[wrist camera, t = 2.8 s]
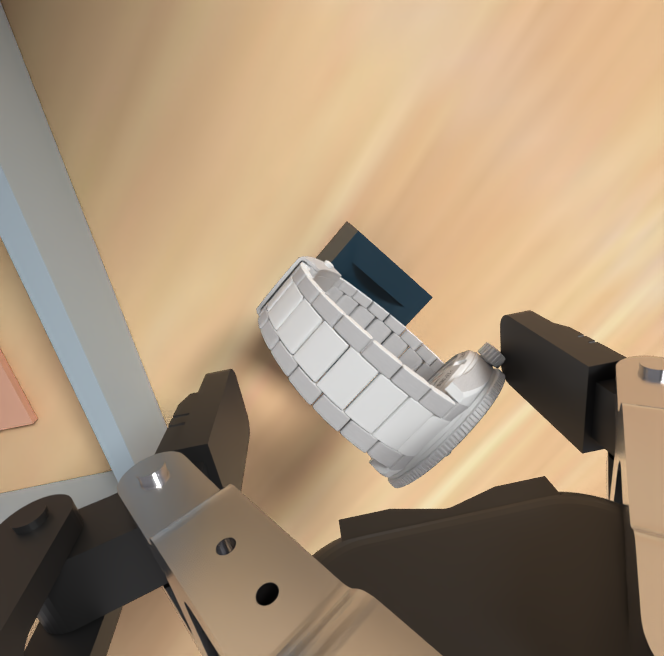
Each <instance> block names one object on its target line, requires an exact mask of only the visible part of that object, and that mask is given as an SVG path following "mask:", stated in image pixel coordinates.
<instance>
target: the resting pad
mask: <svg viewBox="0 0 664 656" xmlns="http://www.w3.org/2000/svg"><path fill="white" fill-rule="evenodd" d="M36 420H37V417H36V415H35V413H34V411H33V409H32V407H31V405H30V404H29V402H28V400H27V398H26V396H25V394H24V392H23V390H22V389H21V387H20V385H19V383H18V381H17V379H16V377H15V375H14V374H13V372H12V370H11V368H10V366H9V364H8V362H7V361H6V359H5V357H4V355H3V353H2V351H1V349H0V430H4V429H9V428H14V427H19V426H24V425H29V424H33V423H34V422H35V421H36Z"/></svg>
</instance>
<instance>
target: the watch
mask: <svg viewBox="0 0 664 656" xmlns="http://www.w3.org/2000/svg"><path fill="white" fill-rule="evenodd" d="M431 299H432V296H431V295H429V294H428V293H427V292H426V291H425V290H424V289H423V288H422V287H420V286H419V285H418V284H417V283H416V282H415V281H414V280H413V279H412V278H410V277H409V276H408V275H407V274H406V273H405V272H404V271H403V270H402V269H400V268H399V267H398V266H397V265H396V264H395V263H394V262H393V261H391V260H390V259H389V258H388V257H387V256H386V255H385V254H384V253H383V252H381V251H380V250H379V249H378V248H377V247H376V246H375V245H374V244H373V243H371V242H370V241H369V240H368V239H367V238H366V237H365V236H364V235H362V234H361V233H360V232H359V231H358V230H357V229H356V228H354V227H353V226H352V225H351V224H350V223H348V222H346V223H345V224H344V225H343V227H342V228H341V229H340V230H339V231H338V232H337V234H336V235H335V236H334V237H333V238H332V240H331V241H330V242H329V243H328V244H327V246H326V247H325V248H324V249H323V250H322V252H321V253H320V254H319V255H318V256H317V258H313V257H299V258H298V259H297V260H296V261H295V263H294V264H293V265H292V266H291V267H290V268H289V270H288V271H287V272H286V273H285V274H284V275H283V277H282V278H281V279H280V280H279V281H278V283H277V284H276V285H275V286H274V287H273V289H272V290H271V291H270V292H269V294H268V295H267V296H266V297H265V299H264V300H263V301H262V302H261V304H260V305H259V306H258V308H257V309H256V310H257V314H259V318H258V324H259V328H260V329H261V333H262V336H263V338H264V341H265V343H266V345H267V347H268V348H269V349H270V350H271V354H272V355H273V357H274V359H275V360H276V362H277V363H278V365H279V366H280V368H281V369H282V371H283V372H284V373H285V375H286V376H289V378H288V379H289V381H290V382H291V384H292V385H293V386H294V387H295V389H296V390H297V391H298V392H299V393H300V395H301V396H302V397H303V398H304V399H305V400H306V402H307V403H308V404H310V405H312V404H313V403H314V402H315V401H316V399H317V398H318V397H319V396H320V395H321V394H322V393H324V394H323V395H322V396H321V397H320V398H319V399H318V400H317V401H316V402H315V403H314V404H313V408H314V409H315V410H316V411H317V412H318V414H319V415H320V416H321V417H322V418H323V419H324V420H325V421H326V422H327V423H328V424H329V425H331V426H332V427H333V428H334V429H335V430H336V431H339V430H340V433H341V434H342V435H343V436H344V437H345V438H346V439H347V440H348V441H350V442H351V443H352V444H353V445H355V446H356V447H357V448H359V449H360V450H361V451H363V452H364V453H366V452H367V453H368V455H369V456H370V457H371V460H370V461H369V463H370V464H371V465H372V466H373V467H374V468H375V469H376V470H377V471H378V472H379V473H380V474H382V475H383V476H385V477H388V481H389V483H390V484H391V485H392V486H393V487H395V488H400V487H403V486H405V485H408V484H410V483H411V482H413V481H415V480H416V479H418V478H419V477H421V476H422V475H424V474H425V473H426V472H428V471H429V470H430V469H431V468H433V467H434V466H435V465H436V464H437V463H439V462H440V461H441V460H442V459H443V458H444V457H445V456H448V455H449V454H450V453H451V451H452V450H453V449H454V448H455V447H456V446H457V445H458V444H459V443H460V442H461V441H462V440H463V439H464V438H465V437H466V436H467V435H468V433H469V432H470V431H471V430H472V429H473V428H474V427H475V426H476V424H477V423H478V422H479V421H480V420H481V419H482V417H483V416H484V415H485V414H486V412H487V411H488V410H489V408H490V407H491V406H492V404H493V403H494V401H495V400H496V398H497V397H498V395H499V393H500V391H501V389H502V387H503V385H504V382H505V374H504V373H503V372H501V371H500V370H499V369H497V368H499V367H500V366H501V365H502V364H503V363H504V360H505V357H504V356H503V355H502V353H501V352H499V351H498V350H497V349H496V348H495V347H494V346H492V345H491V344H489V343H487V342H486V343H485V344H484V345H483V346H482V347H481V348H480V349H479V350H478V352H479V353H480V354H481V355H478V354H477V353H476V352H473V351H470V350H468V351H465V352H462V353H459V354H457V355H455V356H454V357H452V358H451V359H450V360H448V361H447V362H446V363H445V364H444V363H443V362H442V361H441V360H440V359H439V357H438V356H437V355H435V354H434V353H433V352H432V351H431V350H430V349H429V348H428V347H427V346H425V345H424V344H423V342H422V341H421V340H419V339H418V338H417V337H416V336H415V335H414V334H413V333H411V332H410V331H409V330H408V329H406V327H405V326H406V325H407V324H408V323H409V322H410V321H411V320H412V319H413V318H414V317H415V315H416V314H417V313H418V312H419V311H420V310H421V309H422V308H423V307H424V306H425V305H426V304H427V303H428V302H429V301H430V300H431ZM405 329H406V330H405ZM404 330H405V332H404ZM403 332H404V333H403ZM402 333H403V334H402ZM401 334H402V335H401ZM400 335H401V336H400ZM409 346H410V347H409ZM408 347H409V348H408ZM419 347H420V348H419ZM407 348H408V349H407ZM418 348H419V349H418ZM406 349H407V350H406ZM417 349H418V350H417ZM405 350H406V351H405ZM416 350H417V351H416ZM404 351H405V352H404ZM403 352H404V353H403ZM492 366H494V367H496V369H493V367H492ZM325 373H326V374H325ZM324 374H325V375H324ZM377 374H378V375H377ZM323 375H324V376H323ZM376 375H377V376H376ZM322 376H323V377H322ZM375 376H376V377H375ZM321 377H322V378H321ZM374 377H375V378H374ZM320 378H321V379H320ZM373 378H374V379H373ZM319 379H320V380H319ZM372 379H373V380H372ZM318 380H319V381H318ZM371 380H372V381H371ZM370 381H371V382H370ZM369 382H370V383H369ZM368 383H369V384H368ZM367 384H368V385H367ZM366 385H367V386H366ZM361 391H362V392H361ZM360 392H361V393H360ZM359 393H360V394H359ZM358 394H359V395H358ZM357 395H358V396H357ZM356 396H357V397H356ZM355 397H356V398H355ZM354 398H355V399H354ZM353 399H354V400H353ZM352 400H353V401H352ZM351 401H352V402H351ZM350 402H351V403H350ZM349 403H350V404H349ZM348 404H349V405H348ZM347 405H348V406H347ZM346 406H347V407H346ZM345 407H346V408H345Z"/></svg>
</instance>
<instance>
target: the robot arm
mask: <svg viewBox="0 0 664 656" xmlns="http://www.w3.org/2000/svg"><path fill="white" fill-rule="evenodd" d="M500 339H501V353H502V355H503V356H504V357H505V360H504V363H503V364H502V365H501V368H502V372H503V373H504V374H505V379H506V381H507V382H508V384H509V385H510V386H512V387H513V388H514V389H515V390H516V391H517V392H518V393H519V394H520V395H521V396H522V397H523V398H524V399H525V400H526V401H527V402H529V403H530V404H531V405H532V406H533V407H534V408H535V409H536V410H537V411H538V412H539V413H540V414H541V415H542V416H543V417H544V418H545V419H547V420H548V421H549V422H550V423H551V424H552V425H553V426H554V427H555V428H556V429H557V430H558V431H559V432H560V433H561V434H562V435H564V436H565V437H566V438H567V439H568V440H569V441H570V442H571V443H572V444H573V445H574V446H575V447H576V448H577V449H578V450H579V451H580V452H582V453H587V452H591V451H596V450H601V449H606V450H607V460H606V499H604V498H600V497H596V496H592V495H586V494H580V493H571V492H558V491H557V490H556V489H555V487H554V486H553V485H552V484H551V483H550V482H549V480H548V479H547V478H546V477H545V476H543V477H538V478H534V479H529V480H524V481H519V482H515V483H510V484H505V485H501V486H496V487H493V488H491V489H489V490H487V491H485V492H483V493H481V494H478V495H476V496H474V497H472V498H470V499H468V500H466V501H464V502H462V503H460V504H457V505H455V506H453V507H451V508H447V509H388V510H383V511H378V512H374V513H369V514H364V515H360V516H355V517H350V518H345V519H341V520H339V525H340V532H341V538H339V539H337V540H335V541H333V542H331V543H330V544H328V545H326V546H325V547H323V548H321V549H320V550H319V551H317V552H316V553H315V554H314V555H311V554H310V553H309V552H307V551H306V550H305V549H304V548H303V547H302V546H301V545H300V544H299V543H297V542H296V541H295V540H294V539H293V538H292V537H291V536H290V535H289V534H287V533H286V532H285V531H284V530H283V529H282V528H281V527H280V526H279V525H277V524H276V523H275V522H274V521H273V520H272V519H271V518H270V517H268V516H267V515H266V514H265V513H264V512H263V511H262V510H261V509H260V508H258V507H257V506H256V505H255V504H254V503H253V502H252V501H251V500H250V499H248V498H247V497H246V496H245V495H244V494H243V493H242V492H241V489H242V482H243V476H244V469H245V463H246V456H247V449H248V443H249V436H250V428H249V420H248V415H247V412H246V408H245V405H244V401H243V398H242V395H241V391H240V388H239V384H238V381H237V378H236V375H235V372H234V371H233V369H229V370H224V371H219V372H213V373H208V374H206V375H205V377H204V380H203V382H202V384H201V387H200V389H199V391H198V392H197V393H192V394H190V395H189V396H188V397H186V398H185V399H184V400H183V401H182V402H181V403H180V404H179V405H178V407H177V409H176V411H175V413H174V415H173V418H172V419H171V421H170V423H169V428H167V430H166V432H165V434H164V436H163V438H162V440H161V442H160V444H159V446H158V448H157V450H156V452H155V454H154V455H152V456H150V457H147V458H145V459H143V460H141V461H140V462H138V463H136V464H135V465H134V466H132V467H131V468H130V469H129V470H128V471H127V472H126V473H125V474H124V475H123V476H122V477H121V479H120V481H119V483H118V486H117V493H115V494H113V495H111V496H109V497H106V498H104V499H102V500H99V501H97V502H94V503H92V504H90V505H87V506H85V507H82V508H80V509H77V507H76V505H75V503H74V502H73V500H72V498H71V497H70V496H69V495H66V494H55V495H50V496H46V497H43V498H41V499H38V500H36V501H33V502H31V503H29V504H27V505H26V506H24V507H22V508H21V509H19V510H17V511H16V512H14V513H13V514H12V515H10V516H9V517H8V518H7V519H5V520H4V521H3V522H2V523H1V524H0V656H106V655H107V652H108V649H109V646H110V643H111V640H112V637H113V634H114V631H115V628H116V625H117V622H118V619H119V616H120V613H121V610H122V606H123V605H125V604H127V603H129V602H131V601H133V600H135V599H137V598H139V597H141V596H143V595H145V594H147V593H149V592H151V591H153V590H155V589H157V588H159V587H161V586H162V588H163V590H164V591H165V593H166V595H167V596H168V598H169V600H170V602H171V603H172V605H173V607H174V608H175V610H176V612H177V614H178V615H179V617H180V619H181V620H182V622H183V624H184V626H185V627H186V629H187V631H188V632H189V634H190V636H191V637H192V639H193V641H194V643H195V644H196V646H197V648H198V650H199V651H200V653H201V655H202V656H664V358H663V357H656V356H633V357H628V358H626V357H624V356H623V355H621V354H619V353H617V352H615V351H613V350H611V349H610V348H608V347H606V346H604V345H602V344H600V343H598V342H595V340H593V339H591V338H589V337H587V336H584V335H583V334H582V333H580V332H578V331H576V330H574V329H572V328H570V327H567V326H563V325H559V324H556V323H552V322H551V321H549V320H547V319H545V318H543V317H542V316H540V315H538V314H536V313H534V312H533V311H524V312H519V313H514V314H509V315H504V316H503V317H502V319H501V323H500ZM36 618H38V620H39V621H40V622H39V624H38V626H37V628H36V630H35V631H34V633H33V635H32V637H31V639H30V641H29V643H28V645H27V647H26V649H25V643H26V639H27V636H28V633H29V631H30V629H31V627H32V625H33V623H34V621H35V619H36ZM24 649H25V651H24Z"/></svg>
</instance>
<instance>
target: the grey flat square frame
mask: <svg viewBox="0 0 664 656" xmlns="http://www.w3.org/2000/svg"><path fill="white" fill-rule="evenodd" d="M0 237H1V239H2V241H3V243H4V245H5V247H6V249H7V251H8V253H9V255H10V258H11V260H12V262H13V264H14V266H15V268H16V270H17V272H18V274H19V276H20V278H21V281H22V283H23V285H24V287H25V289H26V291H27V293H28V295H29V297H30V299H31V301H32V304H33V306H34V308H35V310H36V312H37V314H38V316H39V318H40V320H41V322H42V324H43V327H44V329H45V331H46V333H47V335H48V337H49V339H50V341H51V343H52V345H53V348H54V350H55V352H56V354H57V356H58V358H59V360H60V362H61V364H62V366H63V368H64V371H65V373H66V375H67V377H68V379H69V381H70V383H71V385H72V387H73V389H74V391H75V394H76V396H77V398H78V400H79V402H80V404H81V406H82V408H83V410H84V412H85V414H86V417H87V419H88V421H89V423H90V425H91V427H92V429H93V431H94V433H95V435H96V437H97V440H98V442H99V444H100V446H101V448H102V450H103V452H104V454H105V456H106V458H107V460H108V463H109V465H110V467H111V469H112V471H108V472H103V473H98V474H93V475H89V476H84V477H79V478H74V479H69V480H64V481H59V482H54V483H49V484H44V485H40V486H35V487H30V488H25V489H20V490H15V491H10V492H5V493H0V524H1V523H2V522H3V521H4V520H5V519H7V518H8V517H9V516H10V515H12V514H13V513H14V512H16V511H17V510H19V509H21V508H22V507H24V506H26V505H27V504H29V503H31V502H33V501H36V500H38V499H41V498H43V497H46V496H50V495H55V494H66V495H69V496H70V497H71V498H72V500H73V502H74V503H75V505H76V507H77V509H80V508H82V507H85V506H87V505H90V504H92V503H94V502H97V501H99V500H102V499H104V498H106V497H109V496H111V495H113V494H115V493H117V486H118V483H119V481H120V479H121V477H122V476H123V475H124V474H125V473H126V472H127V471H128V470H129V469H130V468H131V467H132V466H134V465H135V464H136V463H138V462H140V461H141V460H143V459H145V458H147V457H150V456H152V455H154V454H155V452H156V450H157V448H158V446H159V444H160V442H161V440H162V438H163V436H164V434H165V432H166V430H167V426H166V423H165V421H164V418H163V416H162V413H161V411H160V408H159V405H158V403H157V400H156V398H155V395H154V393H153V390H152V388H151V385H150V382H149V380H148V377H147V375H146V372H145V370H144V367H143V365H142V362H141V359H140V357H139V354H138V352H137V349H136V347H135V344H134V342H133V339H132V336H131V334H130V331H129V329H128V326H127V324H126V321H125V319H124V316H123V313H122V311H121V308H120V306H119V303H118V301H117V298H116V295H115V293H114V290H113V288H112V285H111V283H110V280H109V278H108V275H107V272H106V270H105V267H104V265H103V262H102V260H101V257H100V255H99V252H98V249H97V247H96V244H95V242H94V239H93V237H92V234H91V232H90V229H89V226H88V224H87V221H86V219H85V216H84V214H83V211H82V209H81V206H80V203H79V201H78V198H77V196H76V193H75V191H74V188H73V186H72V183H71V180H70V178H69V175H68V173H67V170H66V168H65V165H64V163H63V160H62V157H61V155H60V152H59V150H58V147H57V145H56V142H55V140H54V137H53V134H52V132H51V129H50V127H49V124H48V122H47V119H46V117H45V114H44V111H43V109H42V106H41V104H40V101H39V99H38V96H37V94H36V91H35V88H34V86H33V83H32V81H31V78H30V76H29V73H28V71H27V68H26V65H25V63H24V60H23V58H22V55H21V53H20V50H19V48H18V45H17V42H16V40H15V37H14V35H13V32H12V30H11V27H10V25H9V22H8V19H7V17H6V14H5V12H4V9H3V7H2V4H1V2H0Z"/></svg>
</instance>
